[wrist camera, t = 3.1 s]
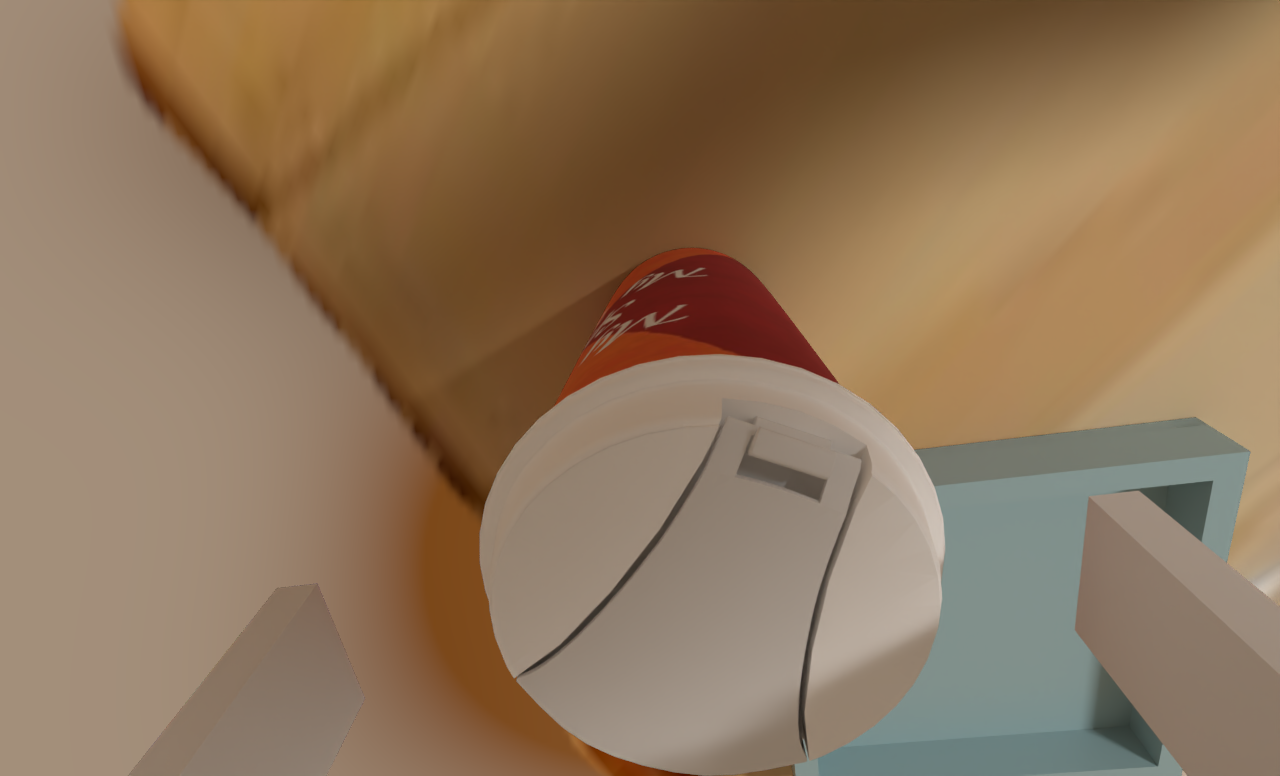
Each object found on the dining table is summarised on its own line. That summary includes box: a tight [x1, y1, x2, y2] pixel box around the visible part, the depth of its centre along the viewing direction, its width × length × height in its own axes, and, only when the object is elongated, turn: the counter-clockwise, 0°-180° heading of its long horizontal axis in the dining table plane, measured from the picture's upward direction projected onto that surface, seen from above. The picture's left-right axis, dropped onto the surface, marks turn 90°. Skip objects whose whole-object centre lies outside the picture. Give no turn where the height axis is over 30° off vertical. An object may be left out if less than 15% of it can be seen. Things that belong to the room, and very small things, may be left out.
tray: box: [792, 417, 1250, 776], centre depth 28 cm, size 16×16×3 cm
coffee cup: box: [480, 248, 945, 775], centre depth 18 cm, size 8×8×15 cm
